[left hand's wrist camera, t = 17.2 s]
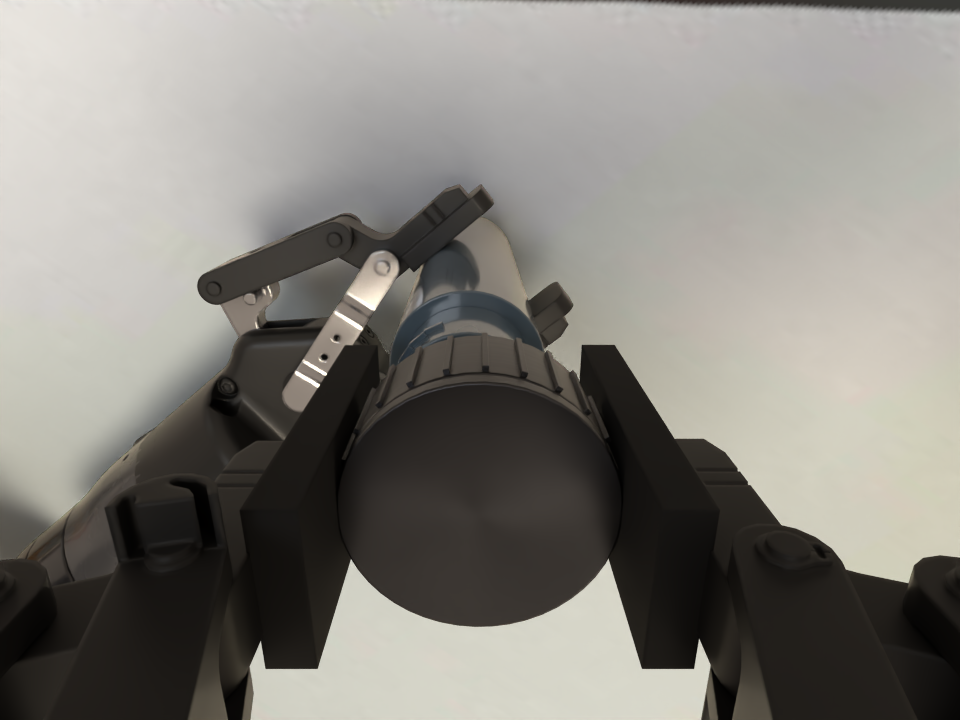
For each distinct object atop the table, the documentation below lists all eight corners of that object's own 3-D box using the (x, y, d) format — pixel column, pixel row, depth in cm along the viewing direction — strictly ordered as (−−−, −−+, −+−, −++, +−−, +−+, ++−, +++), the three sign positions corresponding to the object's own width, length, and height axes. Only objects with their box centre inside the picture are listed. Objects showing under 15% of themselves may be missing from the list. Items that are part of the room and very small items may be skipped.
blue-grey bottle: (427, 212, 28) (376, 310, 13) (514, 217, 28) (565, 320, 13) (425, 297, 30) (376, 474, 14) (508, 301, 30) (547, 482, 15)
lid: (414, 572, 13) (401, 660, 11) (317, 380, 12) (279, 438, 9) (628, 506, 13) (660, 585, 10) (557, 294, 11) (578, 334, 9)
